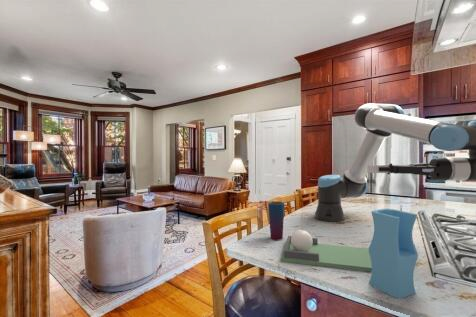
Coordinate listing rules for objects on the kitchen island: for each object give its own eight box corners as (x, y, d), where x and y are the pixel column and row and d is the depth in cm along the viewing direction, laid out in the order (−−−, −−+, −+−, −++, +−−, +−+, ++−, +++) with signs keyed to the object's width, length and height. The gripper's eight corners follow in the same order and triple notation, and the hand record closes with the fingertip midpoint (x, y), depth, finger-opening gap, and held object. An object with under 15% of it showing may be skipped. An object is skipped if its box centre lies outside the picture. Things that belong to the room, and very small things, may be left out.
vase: (397, 299, 58) (397, 218, 57) (368, 283, 65) (368, 211, 64) (417, 291, 61) (417, 214, 60) (387, 277, 68) (387, 208, 67)
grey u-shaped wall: (317, 244, 90) (317, 238, 90) (319, 261, 76) (318, 254, 76) (288, 241, 93) (288, 235, 93) (284, 257, 79) (284, 250, 79)
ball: (294, 228, 89) (303, 247, 88) (283, 237, 84) (292, 257, 83) (310, 224, 84) (320, 244, 83) (299, 233, 79) (309, 255, 78)
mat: (382, 252, 84) (382, 249, 84) (398, 275, 69) (398, 271, 69) (285, 243, 94) (285, 240, 94) (281, 261, 79) (281, 257, 79)
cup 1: (274, 234, 105) (274, 200, 105) (287, 237, 101) (287, 202, 100) (265, 238, 101) (264, 203, 100) (278, 242, 96) (278, 205, 95)
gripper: (459, 183, 72) (372, 181, 79) (437, 178, 84) (363, 177, 91) (459, 158, 72) (372, 158, 79) (437, 157, 84) (363, 158, 91)
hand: (367, 168), depth 85 cm, fingers closed
